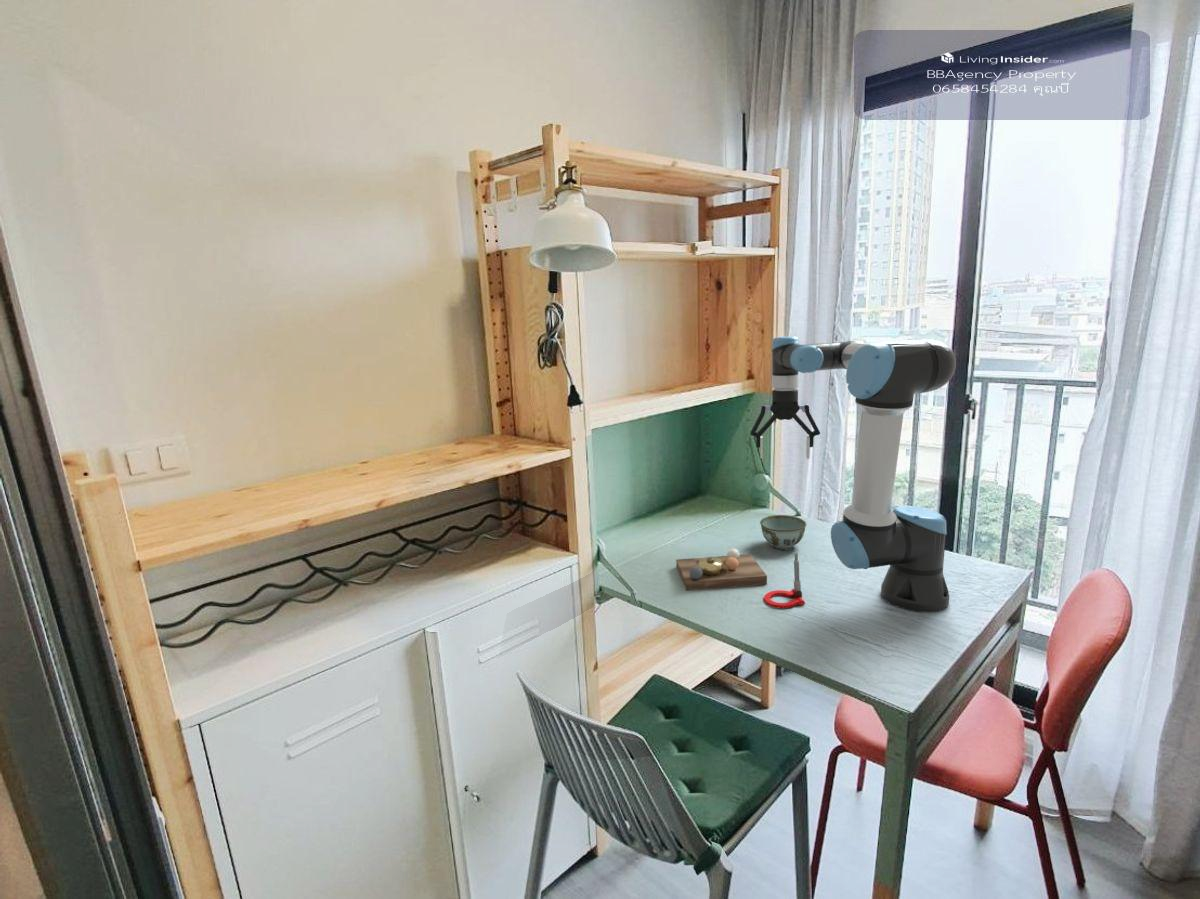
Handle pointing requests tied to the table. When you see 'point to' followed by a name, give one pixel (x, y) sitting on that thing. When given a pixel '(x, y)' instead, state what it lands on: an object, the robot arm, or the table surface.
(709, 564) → the cover
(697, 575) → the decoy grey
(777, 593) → the tow hook
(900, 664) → the table surface
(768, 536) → the bowl
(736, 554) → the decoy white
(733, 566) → the ball
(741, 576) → the brown wooden flat board
